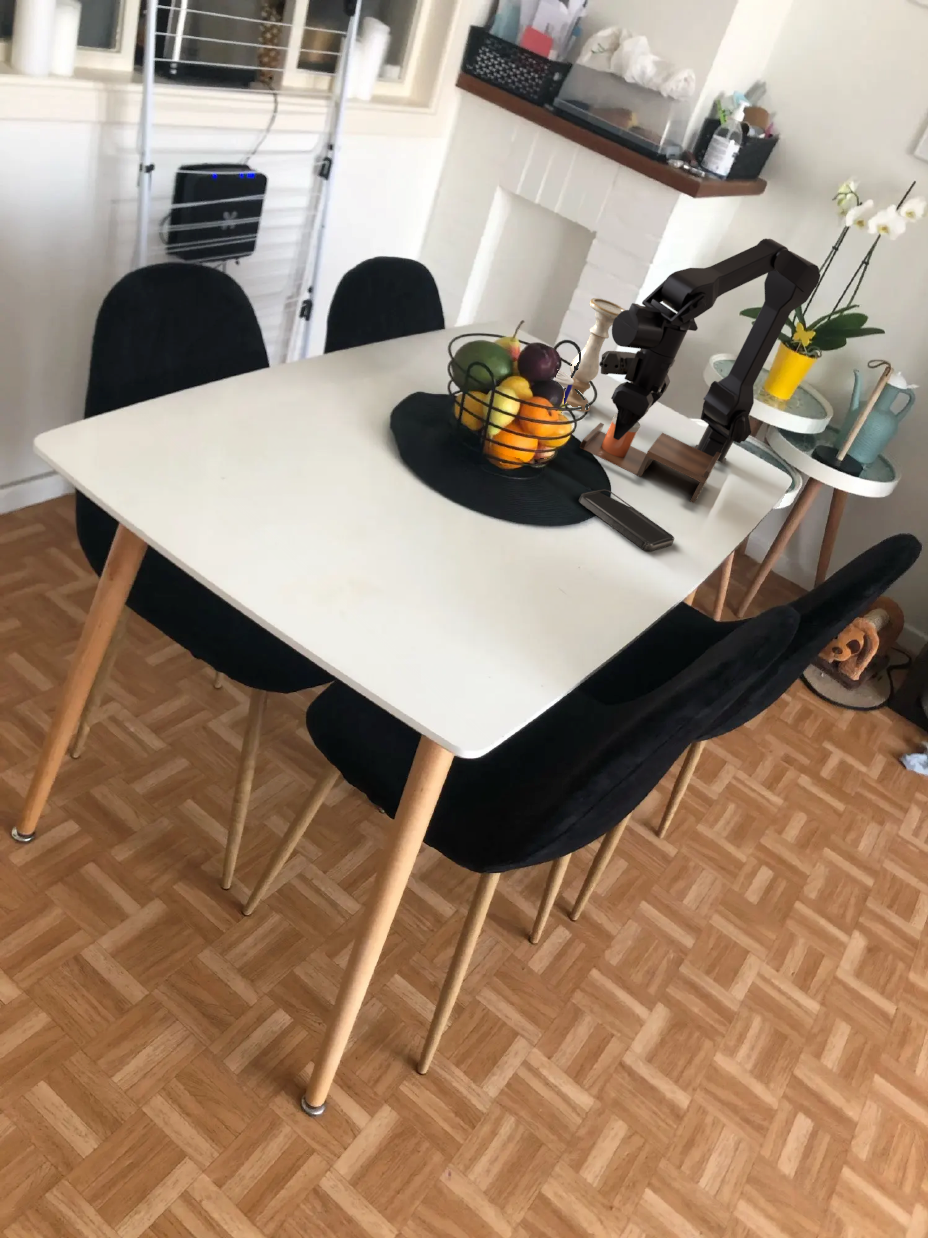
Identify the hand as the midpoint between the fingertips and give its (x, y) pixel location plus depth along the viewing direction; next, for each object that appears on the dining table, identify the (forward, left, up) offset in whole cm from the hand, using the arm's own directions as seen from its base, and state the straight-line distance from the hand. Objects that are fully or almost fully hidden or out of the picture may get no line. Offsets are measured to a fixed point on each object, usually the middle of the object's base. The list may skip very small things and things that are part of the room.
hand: (622, 431), depth 178 cm
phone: (+24, +9, -5) cm, 26 cm away
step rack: (0, +6, -5) cm, 8 cm away
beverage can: (+18, -11, -5) cm, 22 cm away
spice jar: (0, 0, -4) cm, 4 cm away
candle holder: (-14, -13, -5) cm, 20 cm away
